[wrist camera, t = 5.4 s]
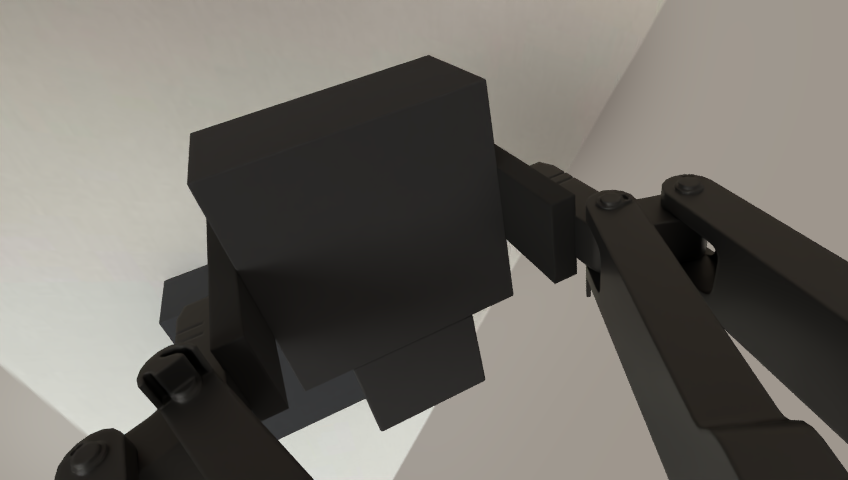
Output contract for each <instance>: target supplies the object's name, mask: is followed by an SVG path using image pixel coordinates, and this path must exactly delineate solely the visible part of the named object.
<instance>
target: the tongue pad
mask: <svg viewBox="0 0 848 480" xmlns="http://www.w3.org/2000/svg"><path fill="white" fill-rule="evenodd" d="M187 185H188V187H189V189H190V190H191V192H192V194H193V196H194V197H195V199H196V201H197V203H198V205H199V206H200V208H201V210H202V212H203V213H204V215H205V217H206V219H207V220H208V222H209V224H210V226H211V227H212V229H213V231H214V233H215V234H216V236H217V238H218V240H219V241H220V243H221V245H222V247H223V248H224V250H225V252H226V254H227V256H228V257H229V259H230V261H231V263H232V264H233V266H234V268H235V270H236V271H237V272H238V274H239V276H240V278H241V279H242V281H243V283H244V285H245V286H246V288H247V290H248V292H249V294H250V295H251V297H252V299H253V301H254V302H255V304H256V306H257V308H258V309H259V311H260V313H261V315H262V316H263V318H264V320H265V322H266V323H267V325H268V327H269V329H270V330H271V332H272V334H273V336H274V338H275V340H276V342H277V343H278V345H279V347H280V349H281V350H282V352H283V354H284V356H285V358H286V359H287V361H288V363H289V365H290V366H291V368H292V370H293V372H294V373H295V375H296V377H297V379H298V380H299V382H300V384H301V386H302V387H303V389H304V391H308V390H310V389H312V388H314V387H316V386H319V385H321V384H323V383H325V382H327V381H329V380H332V379H334V378H336V377H338V376H340V375H342V374H345V373H347V372H349V371H351V370H353V371H354V373H355V375H356V378H357V380H358V382H359V384H360V386H361V389H362V391H363V393H364V395H365V397H366V400H367V402H368V404H369V406H370V408H371V411H372V413H373V415H374V417H375V420H376V422H377V424H378V426H379V428H380V430H381V431H385V430H387V429H389V428H391V427H393V426H395V425H397V424H399V423H401V422H403V421H405V420H407V419H409V418H411V417H413V416H415V415H417V414H419V413H421V412H423V411H425V410H427V409H429V408H431V407H433V406H435V405H437V404H439V403H441V402H443V401H445V400H447V399H449V398H451V397H453V396H455V395H457V394H459V393H461V392H463V391H465V390H467V389H469V388H471V387H473V386H475V385H477V384H479V383H481V382H483V381H484V380H485V376H484V370H483V366H482V360H481V356H480V351H479V346H478V341H477V336H476V331H475V326H474V321H473V316H472V314H474V313H476V312H479V311H481V310H483V309H485V308H487V307H489V306H492V305H494V304H496V303H498V302H500V301H502V300H504V299H507V298H509V297H511V296H513V288H512V280H511V272H510V264H509V256H508V248H507V241H506V236H505V228H504V220H503V212H502V205H501V197H500V189H499V181H498V173H497V162H496V155H495V147H494V139H493V131H492V123H491V115H490V108H489V100H488V92H487V84H486V80H485V79H484V78H481V77H479V76H477V75H474V74H472V73H470V72H467V71H465V70H463V69H460V68H458V67H455V66H453V65H451V64H448V63H446V62H444V61H441V60H439V59H437V58H434V57H432V56H430V55H427V56H424V57H421V58H418V59H415V60H412V61H409V62H406V63H403V64H400V65H397V66H394V67H391V68H388V69H385V70H382V71H379V72H376V73H373V74H370V75H367V76H364V77H361V78H357V79H354V80H351V81H348V82H345V83H342V84H339V85H336V86H333V87H330V88H327V89H324V90H321V91H318V92H315V93H312V94H309V95H306V96H303V97H300V98H297V99H294V100H290V101H287V102H284V103H281V104H278V105H275V106H272V107H269V108H266V109H263V110H260V111H257V112H254V113H251V114H248V115H245V116H242V117H239V118H236V119H233V120H230V121H227V122H224V123H220V124H217V125H214V126H211V127H208V128H205V129H202V130H199V131H196V132H193V133H191V134H190V145H189V162H188V179H187Z"/></svg>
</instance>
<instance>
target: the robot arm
mask: <svg viewBox="0 0 848 480" xmlns="http://www.w3.org/2000/svg"><path fill="white" fill-rule="evenodd" d="M494 147H495V155H496V162H497V173H498V181H499V189H500V197H501V205H502V212H503V220H504V228H505V236H506V239H507V240H508V241H509V242H510V243H511V244H512V245H513V246H514V247H515V248H516V249H518V250H519V251H520V252H521V253H522V254H523V255H524V256H526V258H527V259H529V260H530V261H531V262H532V263H533V264H534V265H535V266H536V267H537V268H538V269H539V270H541V271H542V272H543V273H544V274H545V275H546V276H547V277H548V278H549V279H550V280H551V281H552V282H554V283H555V284H556V283H558V282H560V281H562V280H564V279H567V278H569V277H571V276H573V275H575V274H577V258H578V259H579V260H581V261H582V262H583V263H584V264H586V294H587V297H590V296H591V290H592V292H593V295H594V297H595V300H596V302H597V304H598V307H599V309H600V312H601V314H602V317H603V319H604V322H605V324H606V326H607V329H608V331H609V334H610V336H611V339H612V341H613V344H614V346H615V349H616V351H617V353H618V356H619V359H620V361H621V363H622V366H623V368H624V371H625V373H626V376H627V378H628V381H629V383H630V386H631V388H632V390H633V393H634V395H635V398H636V400H637V403H638V405H639V408H640V410H641V412H642V415H643V417H644V420H645V422H646V425H647V427H648V430H649V432H650V435H651V437H652V440H653V442H654V444H655V446H656V449H657V452H658V454H659V456H660V459H661V462H662V464H663V466H664V469H665V472H666V474H667V476H668V479H669V480H848V472H847V471H846V469H845V468H844V467H843V465H842V464H841V462H840V461H839V460H838V458H837V457H836V456H835V454H834V453H833V452H832V450H831V449H830V447H829V446H828V445H827V443H826V442H825V441H824V439H823V438H822V437H821V436H820V435H819V434H818V432H817V431H816V430H815V429H814V428H813V427H812V426H810V425H809V424H807V423H806V422H804V421H799V420H789V419H788V418H786V417H785V416H784V415H783V414H782V413H781V412H780V411H779V409H778V408H777V406H776V405H775V403H774V402H773V401H772V399H771V397H770V396H769V394H768V393H767V392H766V390H765V389H764V387H763V386H762V384H761V383H760V381H759V380H758V378H757V377H756V375H755V374H754V372H753V371H752V369H751V368H750V366H749V365H748V364H747V362H746V361H745V359H744V358H743V356H742V355H741V353H740V352H739V350H738V349H737V347H736V346H735V345H734V343H733V341H732V340H731V338H730V337H729V336H728V334H727V333H726V331H727V332H728V333H729V334H730V335H731V336H732V337H733V338H734V339H736V340H737V341H738V342H739V343H740V344H741V345H742V346H743V347H744V348H745V349H746V350H747V351H749V353H751V354H752V355H753V356H754V357H755V358H756V359H757V360H758V361H759V362H760V363H761V364H762V365H763V366H765V367H766V368H767V369H768V370H769V371H770V372H771V373H772V374H773V375H774V376H776V378H777V379H779V380H780V381H781V382H782V383H783V384H784V385H785V386H786V387H787V388H788V389H789V390H790V391H791V392H792V393H794V394H795V395H796V396H797V397H798V398H799V399H800V400H801V401H802V402H803V403H805V405H807V406H808V407H809V408H810V409H811V410H812V411H813V412H814V413H815V414H816V415H817V416H818V417H820V418H821V419H822V420H823V421H824V422H825V423H826V424H827V425H828V426H829V427H830V428H831V429H832V430H833V431H834V432H835V433H837V434H838V435H839V436H840V437H841V438H842V439H843V440H844V441H845V442H846V443H847V444H848V262H847V261H846V260H844V259H842V258H841V257H839V256H837V255H836V254H834V253H832V252H831V251H829V250H827V249H826V248H824V247H822V246H821V245H819V244H817V243H816V242H814V241H812V240H810V239H809V238H807V237H805V236H804V235H802V234H801V233H799V232H797V231H795V230H794V229H792V228H791V227H789V226H787V225H786V224H784V223H782V222H781V221H779V220H777V219H775V218H774V217H772V216H771V215H769V214H767V213H765V212H764V211H762V210H761V209H759V208H757V207H755V206H754V205H752V204H750V203H748V202H747V201H745V200H744V199H742V198H740V197H738V196H737V195H735V194H734V193H732V192H730V191H729V190H727V189H725V188H724V187H722V186H720V185H718V184H717V183H715V182H714V181H712V180H710V179H708V178H705V177H703V176H697V175H693V174H691V175H690V174H688V175H686V174H684V175H679V176H674V177H671V178H669V179H667V180H665V182H664V183H663V184H662V191H661V195H657V196H652V197H648V198H642V199H635V198H634V197H633V196H632V195H631V194H629V193H626V192H624V191H617V190H605V191H601V192H598V191H596V190H595V189H593V188H591V187H590V186H588V185H586V184H585V183H583V182H581V181H579V180H578V179H576V178H573V177H572V176H571V175H569V174H568V173H564V171H562V170H561V169H559V168H557V167H556V166H554V165H550V164H546V163H541V162H538V163H535V164H533V165H530V166H529V165H527V164H526V163H524V162H523V161H521V160H519V159H518V158H516V157H515V156H513V155H511V154H510V153H508V152H507V151H505V150H503V149H502V148H500V147H499V146H497V145H496V144H494ZM206 221H207V257H208V294H209V296H208V297H206V298H203V299H201V300H198V301H196V302H193V303H191V304H188V305H186V306H184V308H183V309H182V311H181V313H180V315H179V316H178V318H177V320H176V335H175V344H174V345H170V346H168V347H166V348H164V349H163V350H161V351H159V352H157V353H156V354H155V355H154V356H153V357H151V358H150V359H149V360H148V361H147V362H146V363H145V365H144V366H143V367H142V368H141V370H140V372H139V374H138V377H137V384H138V387H139V389H140V390H141V391H142V392H143V393H144V394H145V395H146V396H147V397H148V399H149V400H150V401H151V402H152V403H153V404H154V405H155V406H156V408H157V411H156V412H155V413H153V414H152V415H151V416H150V417H148V418H147V419H146V420H145V421H143V422H142V423H140V424H139V425H137V426H136V427H135V428H133V429H132V430H130V431H129V432H127V433H126V434H125V435H124V434H123V433H122V432H121V431H118V430H116V429H114V428H111V429H102V430H100V431H97V432H95V433H93V434H90V435H89V436H87V437H86V438H85V439H83V440H82V441H80V442H79V443H77V444H76V445H75V446H74V447H73V448H72V449H71V450H70V451H69V452H68V453H67V454H66V456H65V457H64V458H63V460H62V462H61V463H60V465H59V466H58V469H57V472H56V475H55V480H314V479H313V478H312V477H311V476H310V475H309V474H308V473H307V472H306V470H305V469H304V468H303V467H302V466H301V465H300V464H299V463H298V462H297V461H296V459H295V458H294V457H293V456H292V455H291V454H290V453H289V452H288V451H287V450H286V448H285V447H284V446H283V445H282V444H281V443H280V442H279V441H278V440H277V439H276V437H275V436H274V435H273V434H272V433H271V432H270V431H269V430H268V429H267V428H266V426H265V425H264V424H263V423H262V422H261V421H264V420H266V419H268V418H270V417H272V416H274V415H276V414H279V413H281V412H283V411H285V410H287V409H289V406H288V401H287V396H286V391H285V386H284V381H283V376H282V371H281V366H280V361H279V356H278V351H277V346H276V341H275V338H274V336H273V334H272V332H271V330H270V329H269V327H268V325H267V323H266V322H265V320H264V318H263V316H262V315H261V313H260V311H259V309H258V308H257V306H256V304H255V302H254V301H253V299H252V297H251V295H250V294H249V292H248V290H247V288H246V286H245V285H244V283H243V281H242V279H241V278H240V276H239V274H238V272H237V271H236V270H235V268H234V266H233V264H232V263H231V261H230V259H229V257H228V256H227V254H226V252H225V250H224V248H223V247H222V245H221V243H220V241H219V240H218V238H217V236H216V234H215V233H214V231H213V229H212V227H211V226H210V224H209V222H208V220H207V219H206ZM707 241H708V242H710V243H711V244H712V245H713V246H714V248H715V252H713V251H711V250H710V249H709V248H707V247H706V246H707ZM724 329H725V330H726V331H725V330H724ZM252 411H253V412H252Z"/></svg>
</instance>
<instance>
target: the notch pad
mask: <svg viewBox="0 0 848 480" xmlns="http://www.w3.org/2000/svg"><path fill="white" fill-rule="evenodd" d="M208 296H209V294H208V265H206V266H203V267H200V268H198V269H195V270H192V271H190V272H187V273H184V274H182V275H179V276H177V277H174V278H171V279H169V280H166V281H164V288H163V297H162V305H161V313H160V321H159V324H160V325H161V327H162V328H163V329H164V331H165V332H166V333H167V335H168V336H169V337H170V339H171V340H172V341H173V343H174V344H175V335H176V320H177V318H178V316H179V315H180V313H181V311H182V309H183V308H184V306H186V305H188V304H191V303H193V302H196V301H198V300H201V299H203V298H206V297H208ZM275 341H276V340H275ZM276 346H277V351H278V356H279V361H280V366H281V371H282V376H283V381H284V386H285V391H286V396H287V401H288V406H289V409H287V410H285V411H283V412H281V413H279V414H276V415H274V416H272V417H270V418H268V419H266V420H264V421H261V422H262V423H263V424H264V425H265V426H266V428H267V429H268V430H269V431H270V432H271V433H272V434H273V435H274V436H275V437H276V439H277V440H279V439H281V438H283V437H285V436H287V435H289V434H291V433H293V432H296V431H298V430H300V429H302V428H304V427H306V426H308V425H310V424H313V423H315V422H317V421H319V420H321V419H323V418H325V417H327V416H330V415H332V414H334V413H336V412H338V411H340V410H342V409H344V408H347V407H349V406H351V405H353V404H355V403H357V402H359V401H361V400H364V399H366V397H365V395H364V393H363V391H362V389H361V386H360V384H359V382H358V380H357V378H356V375H355V373H354V371H353V370H351V371H349V372H347V373H345V374H342V375H340V376H338V377H336V378H334V379H332V380H329V381H327V382H325V383H323V384H321V385H319V386H316V387H314V388H312V389H310V390H308V391H304V389H303V387H302V386H301V384H300V382H299V380H298V379H297V377H296V375H295V373H294V372H293V370H292V368H291V366H290V365H289V363H288V361H287V359H286V358H285V356H284V354H283V352H282V350H281V349H280V347H279V345H278V343H277V342H276ZM252 412H253V411H252Z"/></svg>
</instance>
